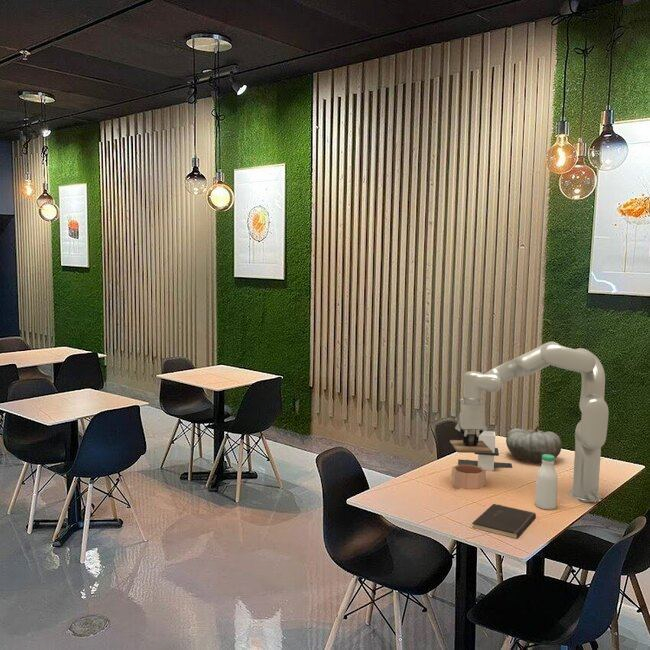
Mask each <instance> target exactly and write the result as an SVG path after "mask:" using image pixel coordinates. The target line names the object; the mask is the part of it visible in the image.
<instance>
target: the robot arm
mask: <svg viewBox="0 0 650 650" xmlns="http://www.w3.org/2000/svg"><path fill="white" fill-rule="evenodd" d="M549 366H552V367H555V368H558V369H563V370H566V371H572V372H575V373H579V374H580V375H581V389H580V397H579V403H578V404H579V405H578V406H579V411H580V412H581V416H580V417H581V419H580V421H579V422H578V423H577V424H576V427H575V431H574V438H575V439H574V443H575V445H574V446H575V447H574V459H573V460H574V461H573V477H572V478H573V481H572V489H570V490H569V491H568V492H567V493H568V495H569V496H570V497H572V498H574V499H576V500H578V501H579V502H582V503H590V502H594V503H596V502H595V501H599V500H601V498H602V499H603V496H602V495H601V494H600V493H599V488H600V487H599V485H600V469H601V454H602V450H601V447H603V446H604V444H605V442H606V440H607V435H608V425H609V424H608V423H609V406H608V403H607V402H606V400H605V390H606V388H605V386H606V374H605V369H604V366H603V365H602V362H601V361H600V359H599V357H597V356H596V355H595V354H594V353H593V352H591V351H590V350H588V349H586V348H582V347H579V348H571V347H567V346H563V345H561V344H560V343H558V342H556V341H547V342H545V343H543V344H541V345H538V346H537V347H535V348H533V349H532V350H530V351H527V352H525V353H523V354H521V355H519V356H517V357H515V358H512V359H511V360H508V361H506V362H504V363H502V364H499V365H498V366H495V367H493V368H491V369H489V370H488V371H486V373H482V372H480V371H474V370H473V371H472V370H471V371H466V372H465V373H464V377H463V379H464V380H463V397H461V398H459V402H461V405H460V408H459V409H460V410H459V416H458V422H457V424H456V425H455V427H454V429H455V430H457V431H458V432H460V433H461V434H462V440H463V443H464V444H465V446H468V436H467V434H468V431H469V430H471V431H474V435H475V443H474V445H475V446H477V444H478V440H479V436H480V434H481V433H482V432H484V431H488V427H487V425H486V415H485V413H486V412H485V405H484V404H483V391H484V392H490V393H496V392H498V391H500V390H501V389H502V387H503V384H505V383H507V382H509V381H511V380H513V379H517V378H520V377H521V378H522V377H527V376H530V375H533V374H535V373H537V372H538V371H541V370H543V369H545V368H547V367H549ZM601 501H602V500H601Z"/></svg>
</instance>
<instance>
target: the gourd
mask: <svg viewBox="0 0 650 650" xmlns="http://www.w3.org/2000/svg"><path fill="white" fill-rule="evenodd" d="M539 429H540V426H539V425H536V427H535V428H534V429H524V428H523V429H522V428H517V427H515V428H512V429H510V430H509V431H507V435H506V437H505V443H506V446H507V449H508V451H509V453H510V454H511V455H512V456H513V457H514V458H517V459H520V460H522V461H527V462H529V463H532V464H539V463H542V455H544V454H549V455H553V456H554V457H555V459H556V458H557V457H558V456H559V455H560V454H561V452H562V451H561V450H562V445H563V443H562V440H561V438H560V436H559V435H558V434H557V433H555V432H553V431H543V430H539Z"/></svg>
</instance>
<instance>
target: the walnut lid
mask: <svg viewBox="0 0 650 650" xmlns="http://www.w3.org/2000/svg"><path fill="white" fill-rule="evenodd" d="M467 436H468V446H465V444H464V443H463V439H460V440H459V439H450V440H449V444H451V445H452V447H453V448H454V450H455V451H456V452H457V453H462V454H463V453H466V454H469V453H470V454H474V453H492V450H491V449H490V448H489V447H488V446H487V445H486V444H485V443H484V442H483V441H480V440H479V439H478V444H477V446H475V445H474V443H475V433H467Z"/></svg>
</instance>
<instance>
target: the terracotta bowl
mask: <svg viewBox="0 0 650 650" xmlns="http://www.w3.org/2000/svg"><path fill="white" fill-rule="evenodd" d="M451 485H452V487H453V488H454V489H457V490H461V489H464V490H479V489H482V488H483V487H485V485H486V470H484V469H483V468H481V467H477V466H473V465H458V464H457V465H455V466H452V467H451ZM460 488H461V489H460Z"/></svg>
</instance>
